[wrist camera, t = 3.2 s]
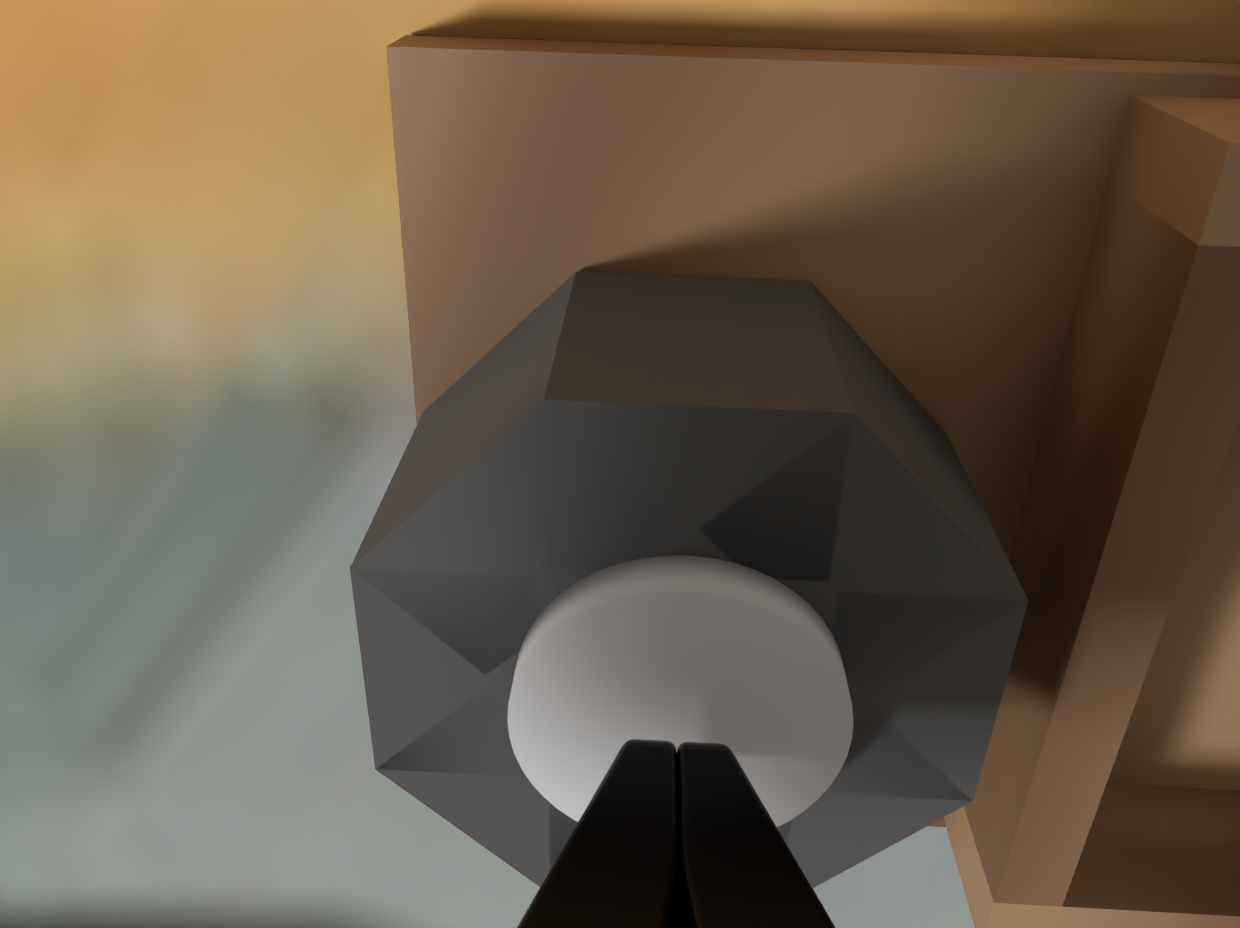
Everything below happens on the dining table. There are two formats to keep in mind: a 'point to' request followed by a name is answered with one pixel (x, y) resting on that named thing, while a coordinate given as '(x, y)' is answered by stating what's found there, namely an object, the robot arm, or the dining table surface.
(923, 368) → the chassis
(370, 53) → the dining table surface
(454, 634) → the octagonal knob base
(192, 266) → the dining table surface
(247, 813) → the dining table surface
